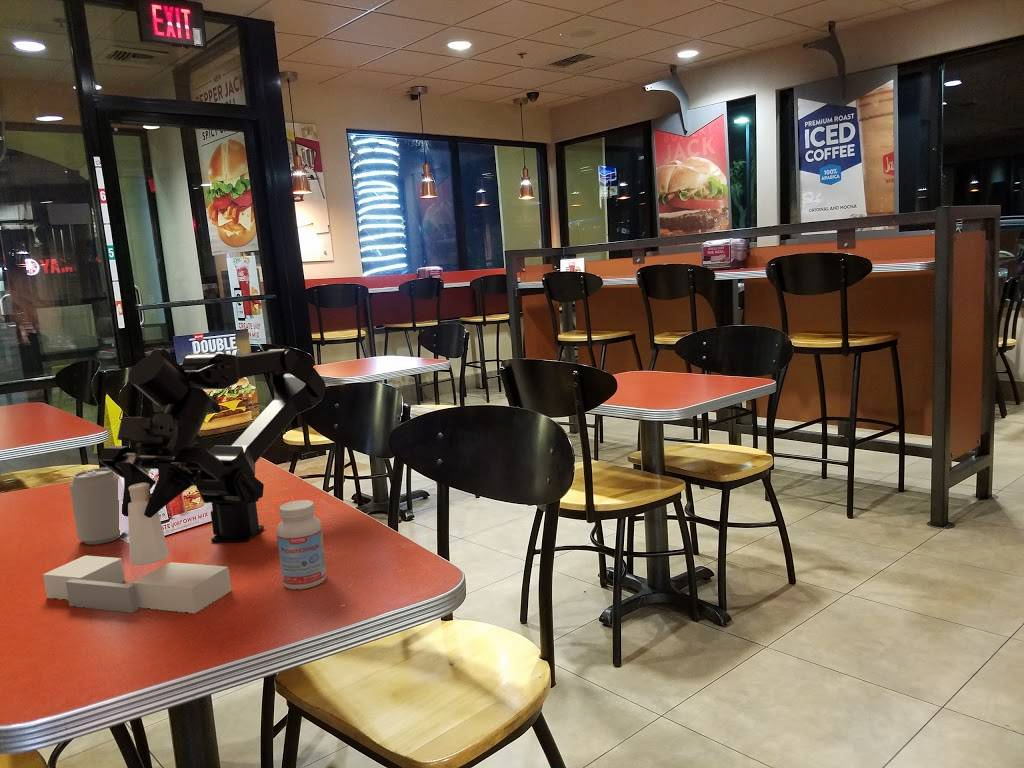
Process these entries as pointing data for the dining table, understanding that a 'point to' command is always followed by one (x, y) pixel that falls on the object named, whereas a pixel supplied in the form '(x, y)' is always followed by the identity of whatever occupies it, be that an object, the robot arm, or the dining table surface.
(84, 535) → the can
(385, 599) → the dining table surface
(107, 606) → the grey block set
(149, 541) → the pepper shaker
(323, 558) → the pill bottle
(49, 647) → the dining table surface
